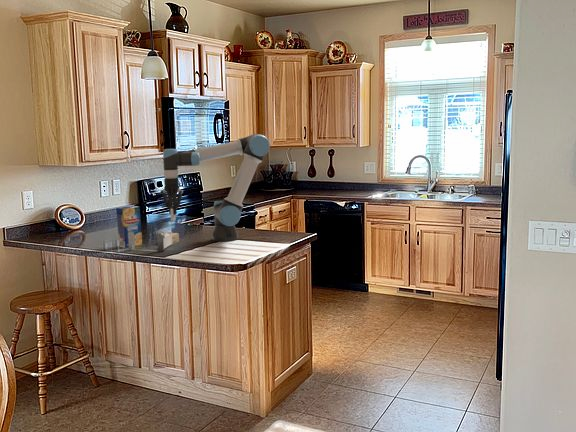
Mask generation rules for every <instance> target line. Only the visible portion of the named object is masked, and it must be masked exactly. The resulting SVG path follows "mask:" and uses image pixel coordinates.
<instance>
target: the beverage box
mask: <svg viewBox="0 0 576 432" xmlns="http://www.w3.org/2000/svg"><path fill="white" fill-rule="evenodd" d="M140 208H141V207H140V206H137V205H128V206H123V207H116V208H115V209H116V210H115V211H116V221H117V224H116V225H117V235H118V247H120V248H125V249H127V248H128V249H129V240H128V232H134V238H135V247H137V246H142V245H143V235H142V234H143V233H142V222H141V221H142V220H141V209H140Z"/></svg>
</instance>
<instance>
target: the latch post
mask: <svg viewBox="0 0 576 432" xmlns="http://www.w3.org/2000/svg"><path fill="white" fill-rule="evenodd" d="M128 240H129V247H128V249H129V252H130V251H131V252H132V251H135V250H134V249H136V246H135V238H134V232H128Z"/></svg>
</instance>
